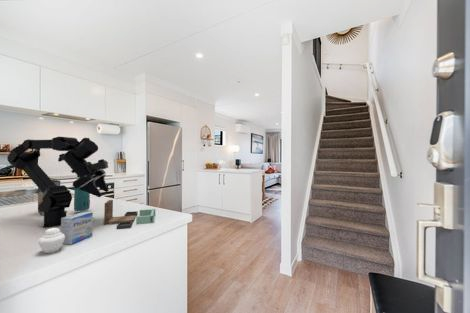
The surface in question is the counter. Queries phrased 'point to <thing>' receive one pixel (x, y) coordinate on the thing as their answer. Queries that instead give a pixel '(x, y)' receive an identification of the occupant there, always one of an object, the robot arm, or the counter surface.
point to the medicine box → (77, 227)
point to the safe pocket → (146, 216)
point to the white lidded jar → (51, 240)
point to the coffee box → (40, 195)
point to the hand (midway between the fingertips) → (104, 193)
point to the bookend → (114, 220)
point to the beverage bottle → (81, 200)
